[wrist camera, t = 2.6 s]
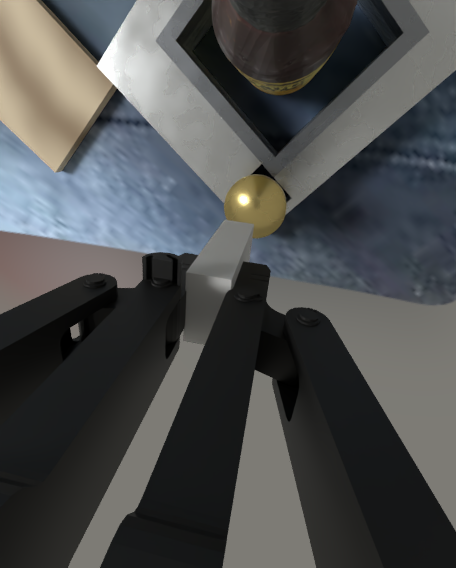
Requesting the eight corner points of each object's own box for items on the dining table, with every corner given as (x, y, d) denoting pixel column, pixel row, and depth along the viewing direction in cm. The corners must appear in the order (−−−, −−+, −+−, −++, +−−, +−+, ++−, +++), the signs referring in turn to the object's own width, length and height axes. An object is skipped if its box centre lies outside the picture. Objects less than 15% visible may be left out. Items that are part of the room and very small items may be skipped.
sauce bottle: (226, 69, 25) (69, -49, 8) (270, -28, 22) (175, -577, 5) (298, 115, 26) (303, 102, 8) (349, 27, 23) (531, -290, 5)
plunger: (262, 155, 25) (256, 161, 22) (298, 197, 26) (299, 210, 22) (223, 194, 27) (211, 206, 23) (258, 232, 28) (252, 249, 24)
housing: (319, -251, 18) (325, -344, 14) (491, 30, 21) (530, 12, 18) (113, 70, 27) (85, 63, 23) (259, 230, 30) (255, 244, 27)
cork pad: (20, -22, 25) (10, -27, 24) (119, 84, 27) (113, 83, 26) (-27, 86, 29) (-37, 85, 28) (62, 171, 31) (55, 172, 30)
